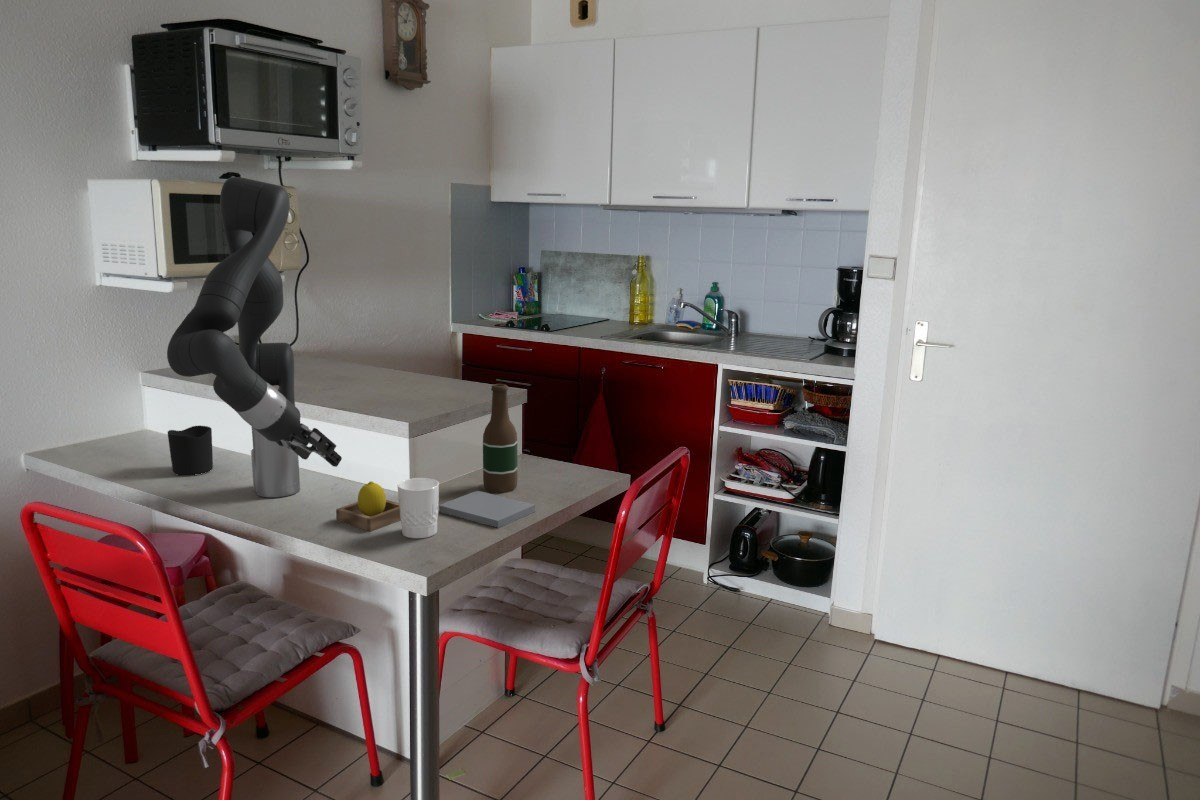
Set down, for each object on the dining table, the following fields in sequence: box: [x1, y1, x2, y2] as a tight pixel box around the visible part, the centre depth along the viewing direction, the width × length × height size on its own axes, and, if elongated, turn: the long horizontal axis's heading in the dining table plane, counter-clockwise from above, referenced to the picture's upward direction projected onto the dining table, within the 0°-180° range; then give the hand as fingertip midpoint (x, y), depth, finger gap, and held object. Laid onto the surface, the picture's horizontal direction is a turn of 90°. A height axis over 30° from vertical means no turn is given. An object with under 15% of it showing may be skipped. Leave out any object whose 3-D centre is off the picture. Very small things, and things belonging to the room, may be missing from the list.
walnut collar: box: [335, 499, 401, 532], centre depth 179 cm, size 10×10×2 cm
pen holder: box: [167, 425, 214, 476], centre depth 208 cm, size 9×9×10 cm
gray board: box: [438, 490, 536, 529], centre depth 185 cm, size 16×12×2 cm
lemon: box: [357, 481, 387, 517], centre depth 179 cm, size 6×6×8 cm
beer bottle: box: [482, 383, 518, 494], centre depth 198 cm, size 8×8×24 cm
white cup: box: [397, 477, 440, 539], centre depth 172 cm, size 8×8×10 cm
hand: (322, 458), depth 167 cm, fingers open, 8 cm apart
